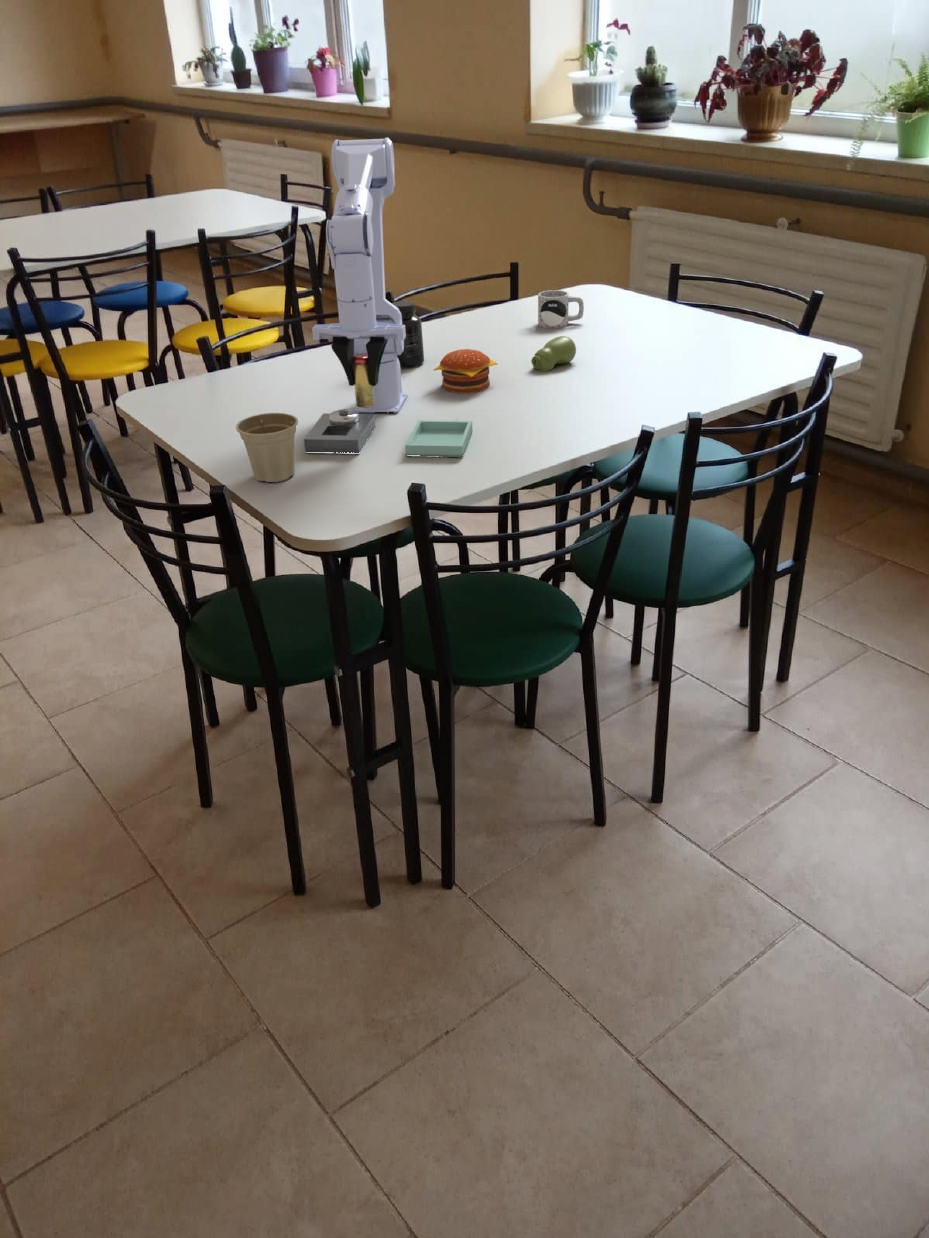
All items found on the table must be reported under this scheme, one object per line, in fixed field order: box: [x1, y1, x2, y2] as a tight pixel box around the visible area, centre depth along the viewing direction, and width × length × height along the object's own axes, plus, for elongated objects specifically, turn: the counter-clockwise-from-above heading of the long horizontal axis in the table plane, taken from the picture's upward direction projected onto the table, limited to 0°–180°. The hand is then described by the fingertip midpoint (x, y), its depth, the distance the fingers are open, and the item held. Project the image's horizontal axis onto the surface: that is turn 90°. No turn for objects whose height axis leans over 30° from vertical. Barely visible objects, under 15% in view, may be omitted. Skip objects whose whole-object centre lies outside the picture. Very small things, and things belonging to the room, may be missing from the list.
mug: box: [537, 289, 585, 329], centre depth 226 cm, size 10×7×7 cm, turn 88°
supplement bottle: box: [389, 300, 425, 369], centre depth 205 cm, size 7×7×12 cm
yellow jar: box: [352, 354, 375, 408], centre depth 165 cm, size 3×3×8 cm
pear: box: [531, 335, 577, 372], centre depth 202 cm, size 6×5×10 cm
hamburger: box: [433, 348, 498, 394], centre depth 193 cm, size 9×10×7 cm
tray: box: [405, 419, 473, 458], centre depth 169 cm, size 11×9×2 cm
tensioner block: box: [303, 408, 376, 453], centre depth 172 cm, size 12×9×4 cm
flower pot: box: [235, 412, 299, 483], centre depth 159 cm, size 9×9×9 cm
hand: (363, 383), depth 165 cm, fingers closed on yellow jar, 3 cm apart
